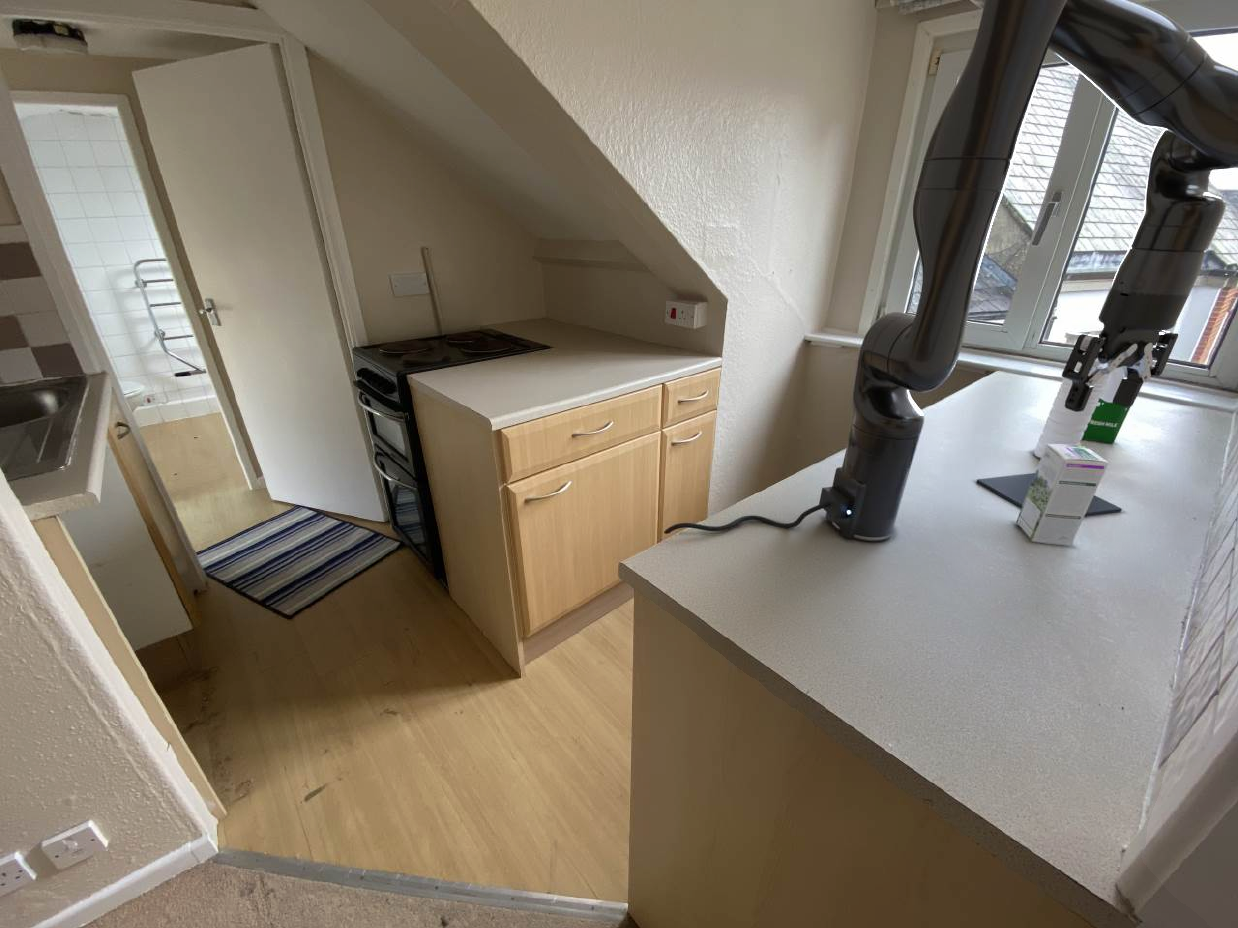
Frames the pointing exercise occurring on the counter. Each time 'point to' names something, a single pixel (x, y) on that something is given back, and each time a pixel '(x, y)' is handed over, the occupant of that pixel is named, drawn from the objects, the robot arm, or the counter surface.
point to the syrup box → (1060, 493)
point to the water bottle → (1069, 413)
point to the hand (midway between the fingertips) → (1097, 407)
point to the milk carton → (1107, 412)
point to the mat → (1019, 485)
